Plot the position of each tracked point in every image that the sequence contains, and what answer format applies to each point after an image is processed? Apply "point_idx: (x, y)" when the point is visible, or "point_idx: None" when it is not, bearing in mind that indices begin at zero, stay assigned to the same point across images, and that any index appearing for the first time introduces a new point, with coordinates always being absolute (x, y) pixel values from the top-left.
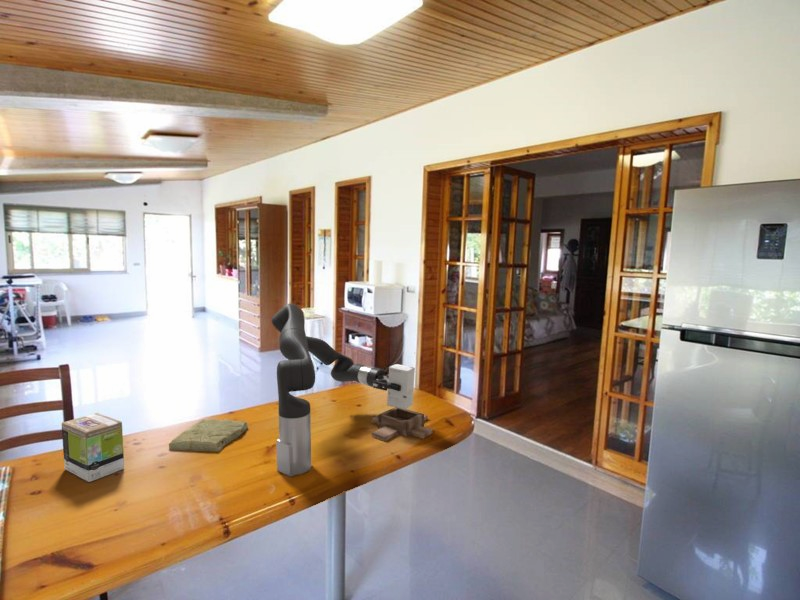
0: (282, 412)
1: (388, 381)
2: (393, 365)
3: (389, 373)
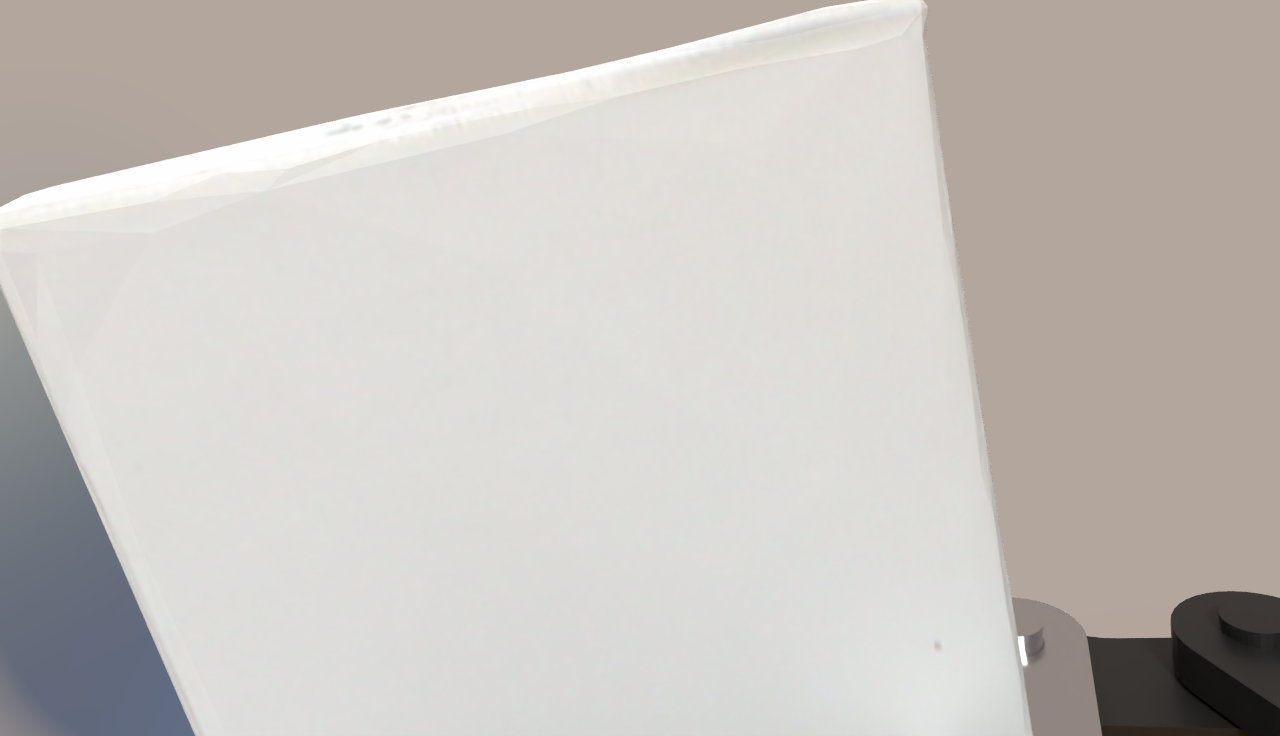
0: None
1: (1030, 726)
2: (507, 89)
3: (954, 350)
